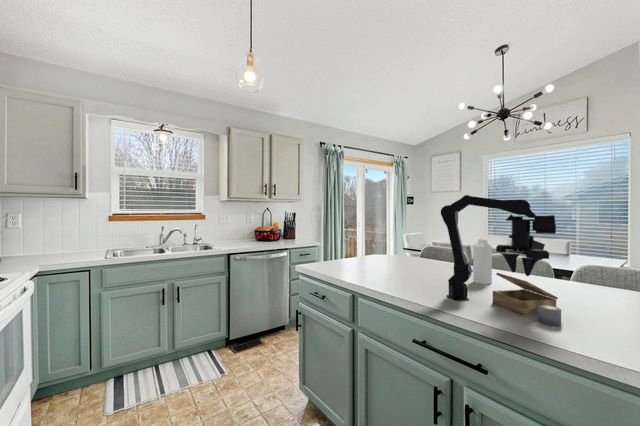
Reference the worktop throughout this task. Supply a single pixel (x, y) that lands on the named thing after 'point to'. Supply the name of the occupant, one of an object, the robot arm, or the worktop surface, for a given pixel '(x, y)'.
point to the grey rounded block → (549, 315)
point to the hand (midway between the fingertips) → (520, 274)
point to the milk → (482, 262)
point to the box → (521, 301)
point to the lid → (526, 285)
